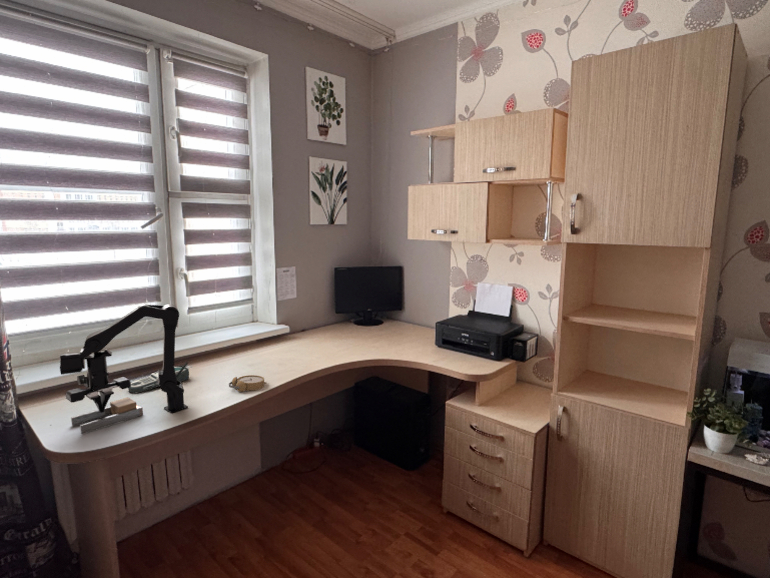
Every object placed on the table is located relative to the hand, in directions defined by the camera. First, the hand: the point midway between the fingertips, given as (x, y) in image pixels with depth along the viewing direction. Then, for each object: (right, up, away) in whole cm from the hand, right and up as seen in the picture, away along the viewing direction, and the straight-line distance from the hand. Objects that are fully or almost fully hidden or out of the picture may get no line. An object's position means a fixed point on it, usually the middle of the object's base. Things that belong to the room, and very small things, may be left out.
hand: (101, 412), depth 160 cm
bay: (+1, -3, +2) cm, 4 cm away
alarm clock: (+41, +1, +34) cm, 53 cm away
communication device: (+2, +2, +37) cm, 37 cm away
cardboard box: (+5, -3, +6) cm, 8 cm away
